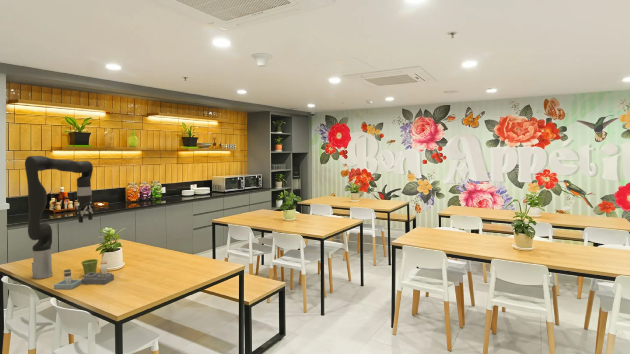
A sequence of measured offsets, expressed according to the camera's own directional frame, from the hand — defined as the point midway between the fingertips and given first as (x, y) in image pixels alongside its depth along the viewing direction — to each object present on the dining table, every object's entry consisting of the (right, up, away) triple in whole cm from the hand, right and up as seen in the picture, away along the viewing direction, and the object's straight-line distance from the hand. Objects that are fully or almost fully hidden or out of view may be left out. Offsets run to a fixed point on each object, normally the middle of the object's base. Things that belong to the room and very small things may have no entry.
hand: (85, 221), depth 226 cm
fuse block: (+8, -36, -1) cm, 37 cm away
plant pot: (-4, -36, +12) cm, 38 cm away
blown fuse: (-5, -36, -8) cm, 38 cm away
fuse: (+12, -33, -1) cm, 35 cm away
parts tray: (-5, -37, -8) cm, 38 cm away
